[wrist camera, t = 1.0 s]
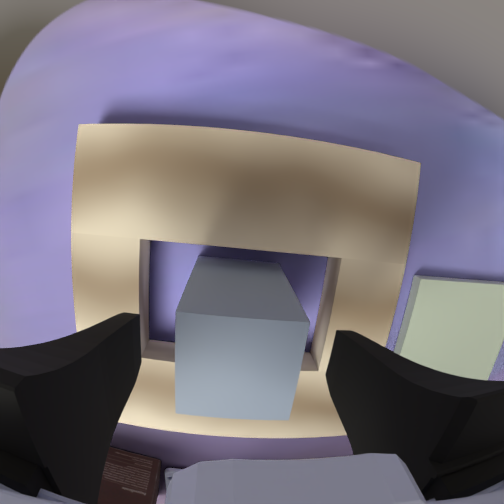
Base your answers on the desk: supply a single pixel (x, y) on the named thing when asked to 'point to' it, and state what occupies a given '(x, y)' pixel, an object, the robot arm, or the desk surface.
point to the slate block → (238, 341)
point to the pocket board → (238, 243)
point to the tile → (453, 325)
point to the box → (129, 478)
